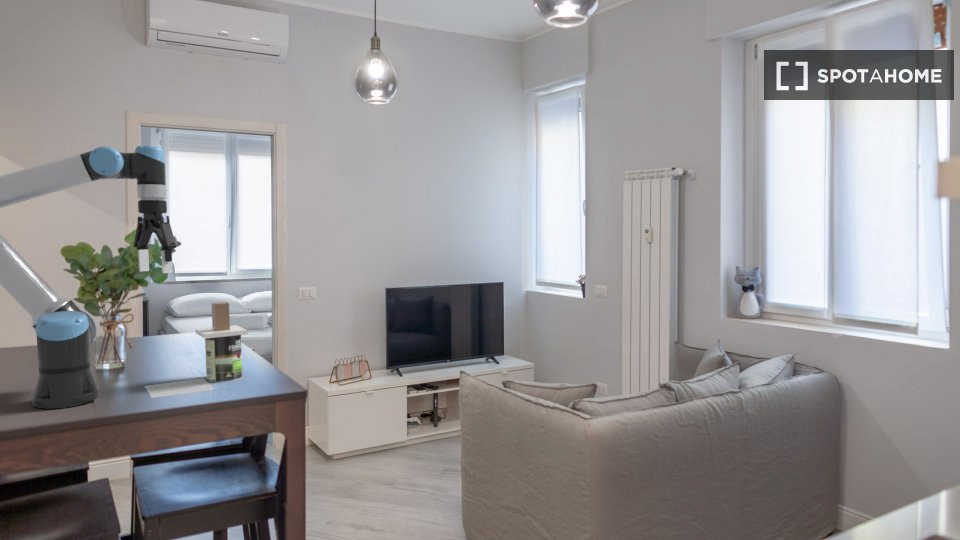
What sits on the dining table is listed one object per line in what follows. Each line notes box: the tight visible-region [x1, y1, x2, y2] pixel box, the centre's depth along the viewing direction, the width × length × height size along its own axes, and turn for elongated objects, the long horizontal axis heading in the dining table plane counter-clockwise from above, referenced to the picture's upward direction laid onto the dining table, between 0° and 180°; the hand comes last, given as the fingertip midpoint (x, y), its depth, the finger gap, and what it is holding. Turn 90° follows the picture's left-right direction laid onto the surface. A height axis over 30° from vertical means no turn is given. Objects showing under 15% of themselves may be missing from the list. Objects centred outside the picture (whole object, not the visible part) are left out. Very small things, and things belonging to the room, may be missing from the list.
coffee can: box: [204, 335, 243, 383], centre depth 199 cm, size 10×10×14 cm
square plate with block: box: [194, 301, 249, 340], centre depth 198 cm, size 12×12×9 cm
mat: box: [144, 377, 216, 399], centre depth 188 cm, size 16×16×1 cm
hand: (155, 272), depth 196 cm, fingers open, 13 cm apart
